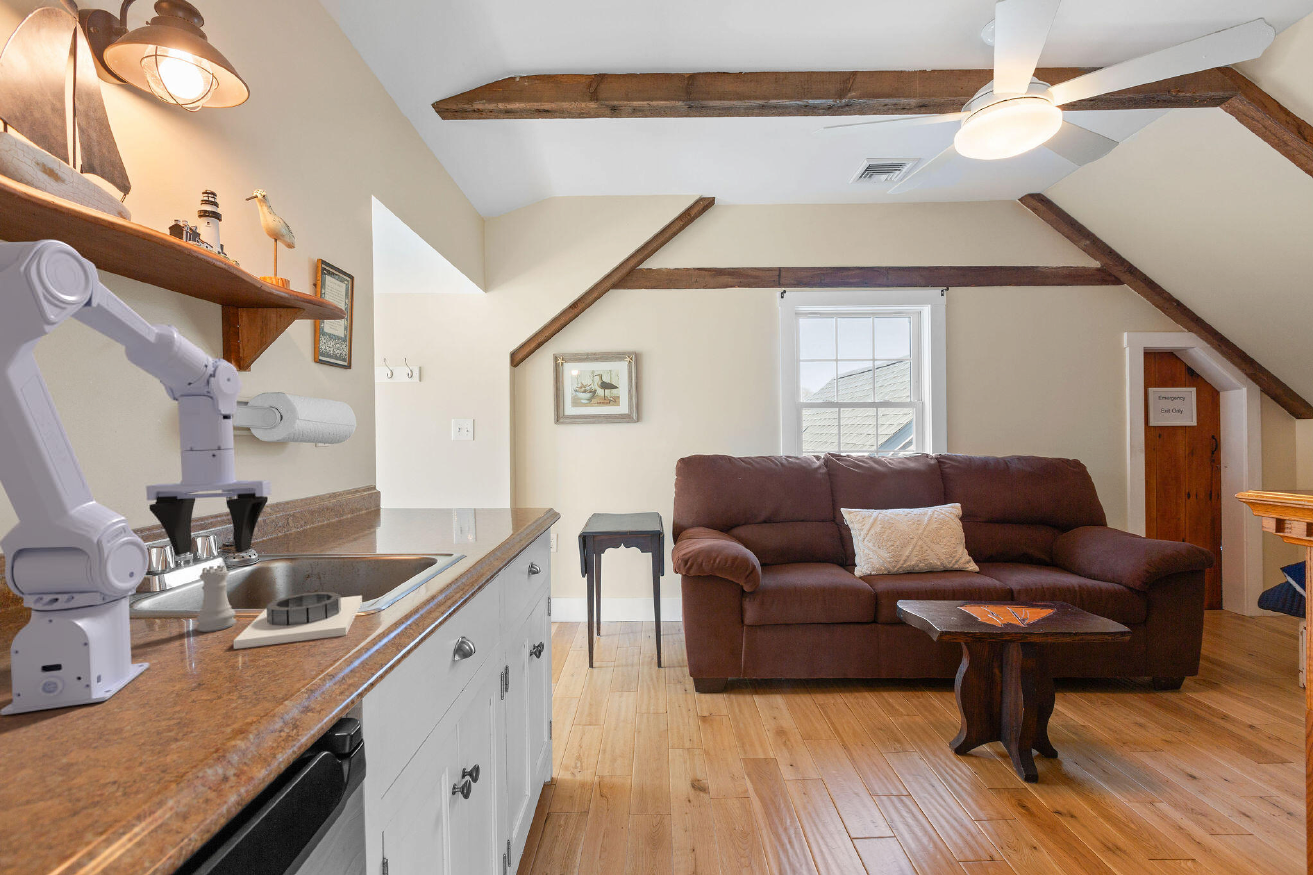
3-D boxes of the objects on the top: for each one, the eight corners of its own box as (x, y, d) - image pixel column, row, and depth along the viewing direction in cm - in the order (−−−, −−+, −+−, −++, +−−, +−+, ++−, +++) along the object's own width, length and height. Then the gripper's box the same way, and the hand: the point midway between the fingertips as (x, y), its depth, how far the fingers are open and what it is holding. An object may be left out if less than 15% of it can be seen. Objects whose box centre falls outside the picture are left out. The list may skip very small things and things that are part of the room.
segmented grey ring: (334, 620, 80) (334, 604, 80) (260, 628, 77) (259, 613, 77) (344, 603, 88) (344, 589, 88) (277, 610, 85) (276, 596, 85)
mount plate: (345, 635, 77) (345, 627, 77) (233, 649, 73) (233, 640, 73) (362, 602, 92) (361, 595, 92) (269, 612, 88) (269, 605, 88)
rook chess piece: (245, 622, 84) (242, 563, 83) (218, 633, 79) (216, 571, 79) (214, 621, 84) (212, 563, 84) (186, 632, 80) (184, 571, 79)
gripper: (281, 446, 86) (285, 543, 86) (171, 450, 84) (176, 547, 85) (251, 449, 78) (257, 554, 79) (131, 452, 77) (137, 559, 78)
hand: (213, 552), depth 81 cm, fingers open, 7 cm apart
